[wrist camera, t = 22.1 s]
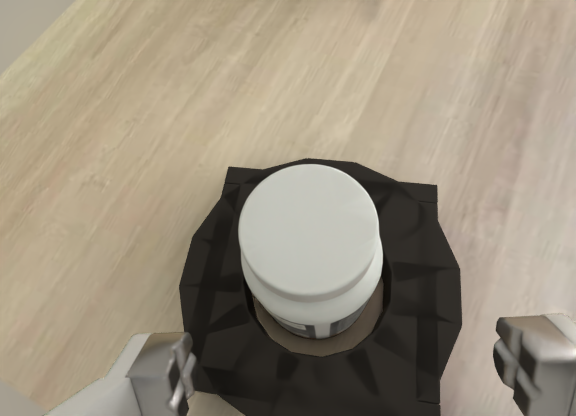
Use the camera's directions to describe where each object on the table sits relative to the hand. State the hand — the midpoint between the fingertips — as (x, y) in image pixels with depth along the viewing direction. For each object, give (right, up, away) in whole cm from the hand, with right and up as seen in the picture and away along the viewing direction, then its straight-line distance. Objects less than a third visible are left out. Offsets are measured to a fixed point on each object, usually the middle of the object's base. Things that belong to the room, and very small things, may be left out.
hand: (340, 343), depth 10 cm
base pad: (0, -1, +11) cm, 11 cm away
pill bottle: (0, -1, +11) cm, 11 cm away
